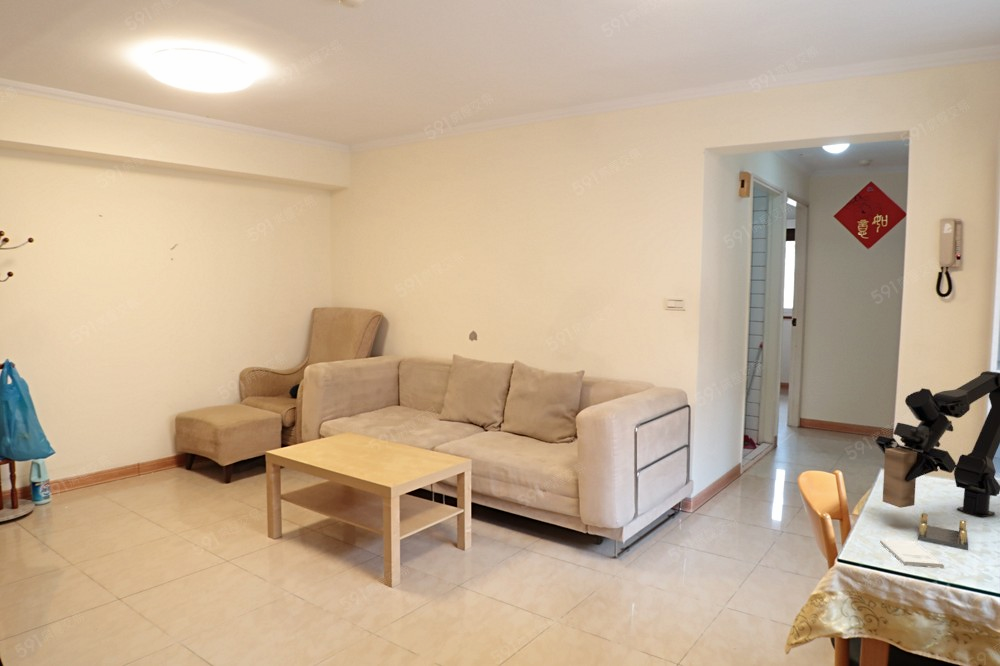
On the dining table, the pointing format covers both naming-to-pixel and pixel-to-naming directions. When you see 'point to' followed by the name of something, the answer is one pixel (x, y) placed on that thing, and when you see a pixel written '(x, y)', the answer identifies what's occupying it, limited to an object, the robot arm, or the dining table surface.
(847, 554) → the dining table surface
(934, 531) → the plate
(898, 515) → the dining table surface
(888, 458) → the walnut post
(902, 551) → the external hard drive
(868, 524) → the dining table surface
